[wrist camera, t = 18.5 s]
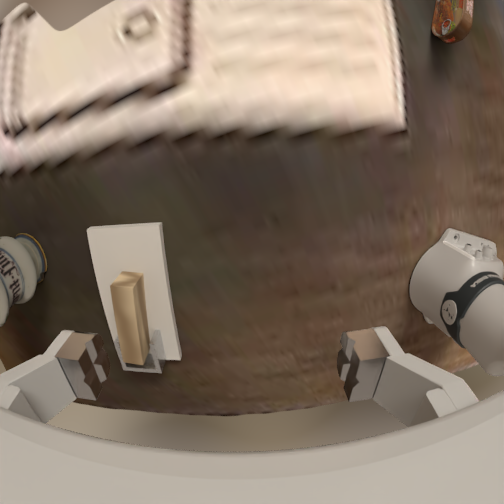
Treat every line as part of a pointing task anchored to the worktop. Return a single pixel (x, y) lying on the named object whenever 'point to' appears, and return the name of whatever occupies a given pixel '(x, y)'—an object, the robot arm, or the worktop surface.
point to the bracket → (155, 284)
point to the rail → (131, 316)
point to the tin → (452, 19)
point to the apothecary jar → (19, 271)
